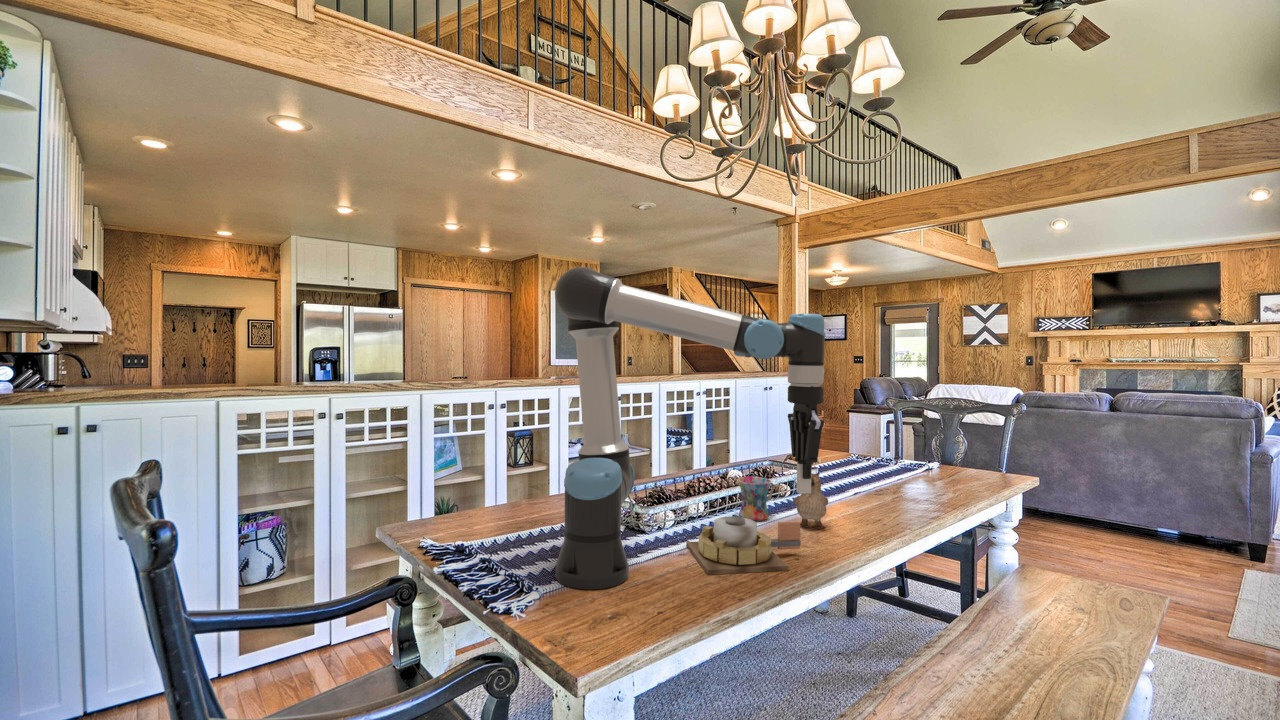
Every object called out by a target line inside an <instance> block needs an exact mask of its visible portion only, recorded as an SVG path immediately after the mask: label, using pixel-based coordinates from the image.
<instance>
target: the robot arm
mask: <svg viewBox="0 0 1280 720" xmlns="http://www.w3.org/2000/svg"><path fill="white" fill-rule="evenodd" d="M554 298H555V303H556V305H557V307H558V308H559V311H560V312H561V313H562V314H564V316H565V317H566V318H567V319H566V320H567V321H566V322H567V329H568V332H567V333H568V334H570V335H571V337H573V338H574V340H575V346H576V347H575V348H576V357H577V358H576V359H577V369H578V370H577V372H578V373H577V374H578V381H579V393H580V394H579V395H580V397H579V398H580V406H581V407H580V408H581V409H580V410H581V419H582V432H583V444H582V446H581V447H580V448H579V450H578V460H576V461H575V460H574V461H573V462H572V463H570V464H569V465H568V466H567V467H566V470H565V473H564V474H565V475H564V480H563V486H564V538H563V542H562V545H561V548H560V551H559V554H558V557H557V560H556V562H555V580H557V582H558V583H559V584H561V585H564V586H566V587H570V588H573V589H578V590H579V589H580V590H601V589H608V588H609V589H610V588H611V587H616V586H618V585H621V584H623V583H624V582H625V581H626V580H627V579H629V566H630V565H629V562H628V558H627V555H626V551H625V548H624V546H623V541H622V539H621V536H622V535H621V527H622V525H621V523H622V519H621V518H622V517H621V516H622V513H621V512H622V505H623V504H624V503H625V501H626V500H627V498H628V497H629V496H630V495H631V493H632V491H633V489H634V484H635V471H634V470H635V469H634V467H633V465H632V463H631V462H630V461H631V460H630V459H631V458H630V448H629V445H628V444H626V443H625V442H624V440H622V432H621V429H622V428H621V419H620V418H621V417H620V407H619V406H620V405H619V396H618V395H619V393H618V382H617V369H616V368H617V367H616V357H615V345H614V336H615V335H616V333H617V332H618V331H619V330H620V325H619V323H621V324H622V323H623V324H625V325H629V326H634V327H638V328H642V329H646V330H650V331H653V332H658V333H661V334H664V335H669V336H672V337H677V338H681V339H685V340H689V341H693V342H697V343H700V344H704V345H708V346H713V347H717V348H720V349H724V350H728V351H733V354H734V355H735V356H736V357H740V358H741V357H744V358H756V359H760V360H769V359H771V358H787V359H788V363H787V383H788V384H789V385H788V387H787V401H788V402H789V403H791V404H793V407H792V408H793V409H792V413H788V414H787V418H788V419H787V421H788V424H789V435H790V447H791V457H792V458H795V462H796V489H795V490H796V491H795V492H796V493H797V494H799V495H801V494H804V493H811V474H812V466H813V465H812V464H814V463H818V460H819V459H818V458H819V452H820V451H819V450H820V445H821V438H822V431H823V428H824V425H825V421H824V419H819V417H818V415H819V412H818V411H819V410H818V405H821V404H823V403H824V389H825V388H824V387H823V386H821V385H822V384H823V383H824V379H825V378H824V377H825V375H824V374H825V372H826V370H825V369H824V366H825V342H826V339H825V338H826V332H825V319H824V317H823V315H821V314H819V313H793V314H790V315H789V316H788V321H787V322H781V323H777V322H775V321H773V320H770V319H766V318H758V317H753V316H749V315H744V314H742V313H739V312H738V313H737V312H733V311H730V310H727V309H726V310H725V309H722V308H718V307H713V306H710V305H706V304H701V303H697V302H694V301H689V300H685V299H681V298H677V297H673V296H669V295H665V294H662V293H657V292H653V291H649V290H645V289H641V288H638V287H633V286H629V285H624V284H623V282H622V281H621V279H620V278H618V277H613V276H611V275H610V276H609V275H606V274H604V273H601V272H599V271H597V270H595V269H593V268H590V267H587V266H578V267H573V268H570V269H569V270H567V271H566V272H565V273H563V274H562V275H561V276H560V277H559V279H557V282H556V285H555V289H554Z"/></svg>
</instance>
